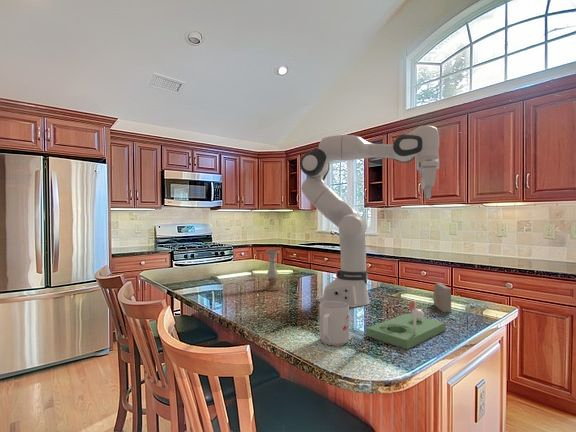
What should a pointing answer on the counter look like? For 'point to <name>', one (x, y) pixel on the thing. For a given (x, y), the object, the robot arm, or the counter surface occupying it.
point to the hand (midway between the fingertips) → (427, 198)
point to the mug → (334, 322)
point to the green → (406, 329)
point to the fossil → (442, 297)
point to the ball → (419, 315)
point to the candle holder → (272, 272)
